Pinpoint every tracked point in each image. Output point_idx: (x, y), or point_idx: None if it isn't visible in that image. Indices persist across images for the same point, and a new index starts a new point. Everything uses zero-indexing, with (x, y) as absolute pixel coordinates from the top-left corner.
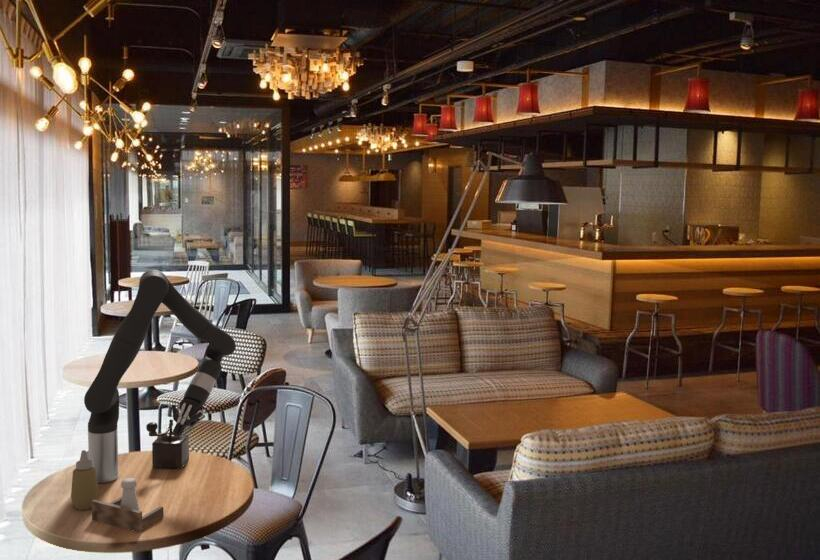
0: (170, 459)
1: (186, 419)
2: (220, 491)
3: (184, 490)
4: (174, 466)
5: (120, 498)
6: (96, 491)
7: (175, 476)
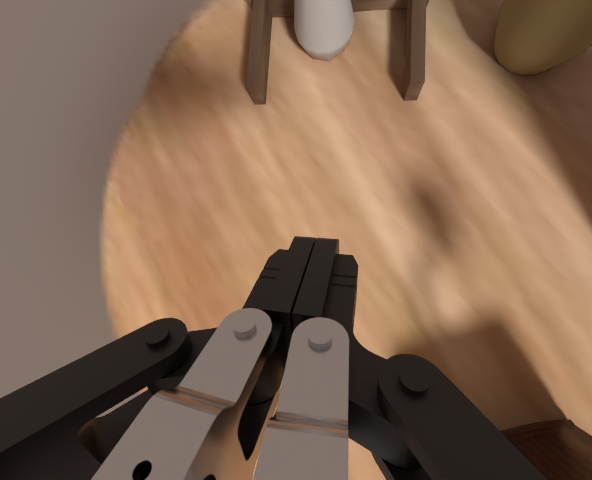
0: None
1: (185, 390)
2: (196, 318)
3: None
4: None
5: (417, 70)
6: (513, 14)
7: None
